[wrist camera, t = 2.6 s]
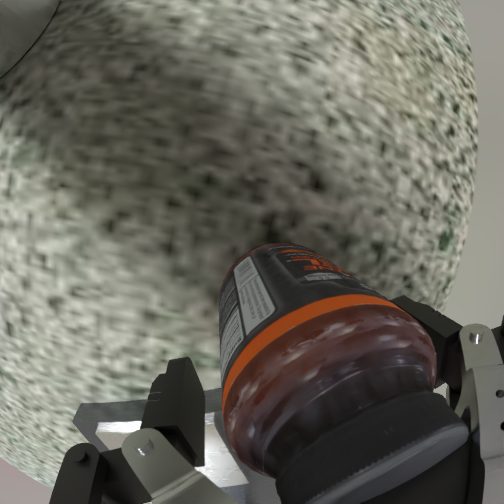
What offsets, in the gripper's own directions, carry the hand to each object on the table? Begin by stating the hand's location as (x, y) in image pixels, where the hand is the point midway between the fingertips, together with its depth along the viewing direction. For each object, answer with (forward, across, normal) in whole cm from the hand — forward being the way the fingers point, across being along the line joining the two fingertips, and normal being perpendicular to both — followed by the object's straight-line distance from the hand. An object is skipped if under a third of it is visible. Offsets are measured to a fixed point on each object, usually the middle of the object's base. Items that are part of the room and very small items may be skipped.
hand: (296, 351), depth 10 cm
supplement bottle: (+4, 0, -1) cm, 5 cm away
